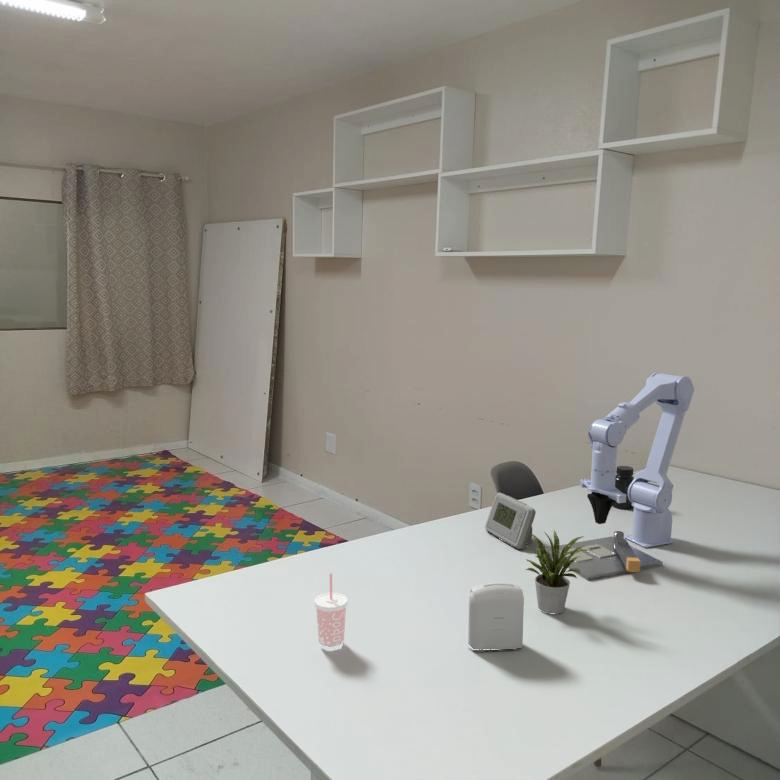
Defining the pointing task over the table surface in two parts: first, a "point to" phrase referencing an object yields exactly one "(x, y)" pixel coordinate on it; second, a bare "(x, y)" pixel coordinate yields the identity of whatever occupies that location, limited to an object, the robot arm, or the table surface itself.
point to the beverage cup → (331, 617)
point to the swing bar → (627, 555)
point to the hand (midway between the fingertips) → (600, 522)
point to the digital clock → (511, 520)
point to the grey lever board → (603, 558)
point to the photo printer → (496, 616)
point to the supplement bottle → (623, 485)
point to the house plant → (553, 574)
